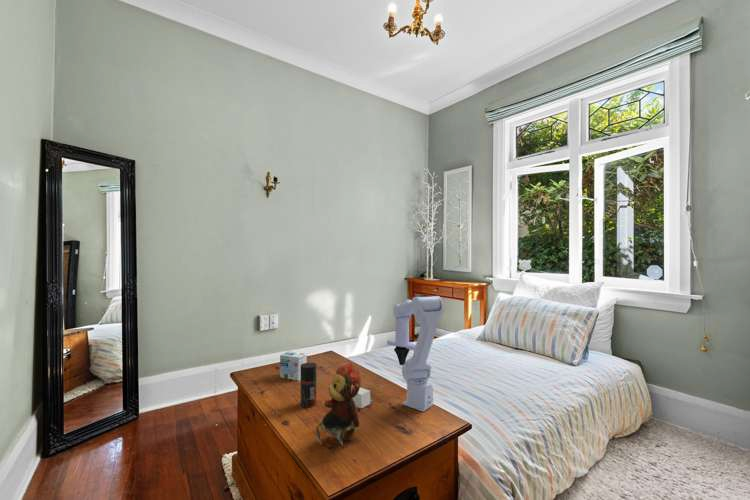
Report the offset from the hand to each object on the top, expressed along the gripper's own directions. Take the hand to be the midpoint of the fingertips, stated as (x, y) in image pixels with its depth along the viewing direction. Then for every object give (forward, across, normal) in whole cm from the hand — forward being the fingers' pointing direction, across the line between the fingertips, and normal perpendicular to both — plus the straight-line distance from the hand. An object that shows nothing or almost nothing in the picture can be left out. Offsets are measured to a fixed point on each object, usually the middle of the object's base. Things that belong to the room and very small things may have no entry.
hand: (402, 364), depth 144 cm
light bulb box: (+11, +48, +20) cm, 53 cm away
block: (+7, +1, +22) cm, 23 cm away
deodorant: (+11, +20, +34) cm, 41 cm away
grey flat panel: (+10, +8, +22) cm, 26 cm away
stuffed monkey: (+10, -8, +44) cm, 46 cm away
